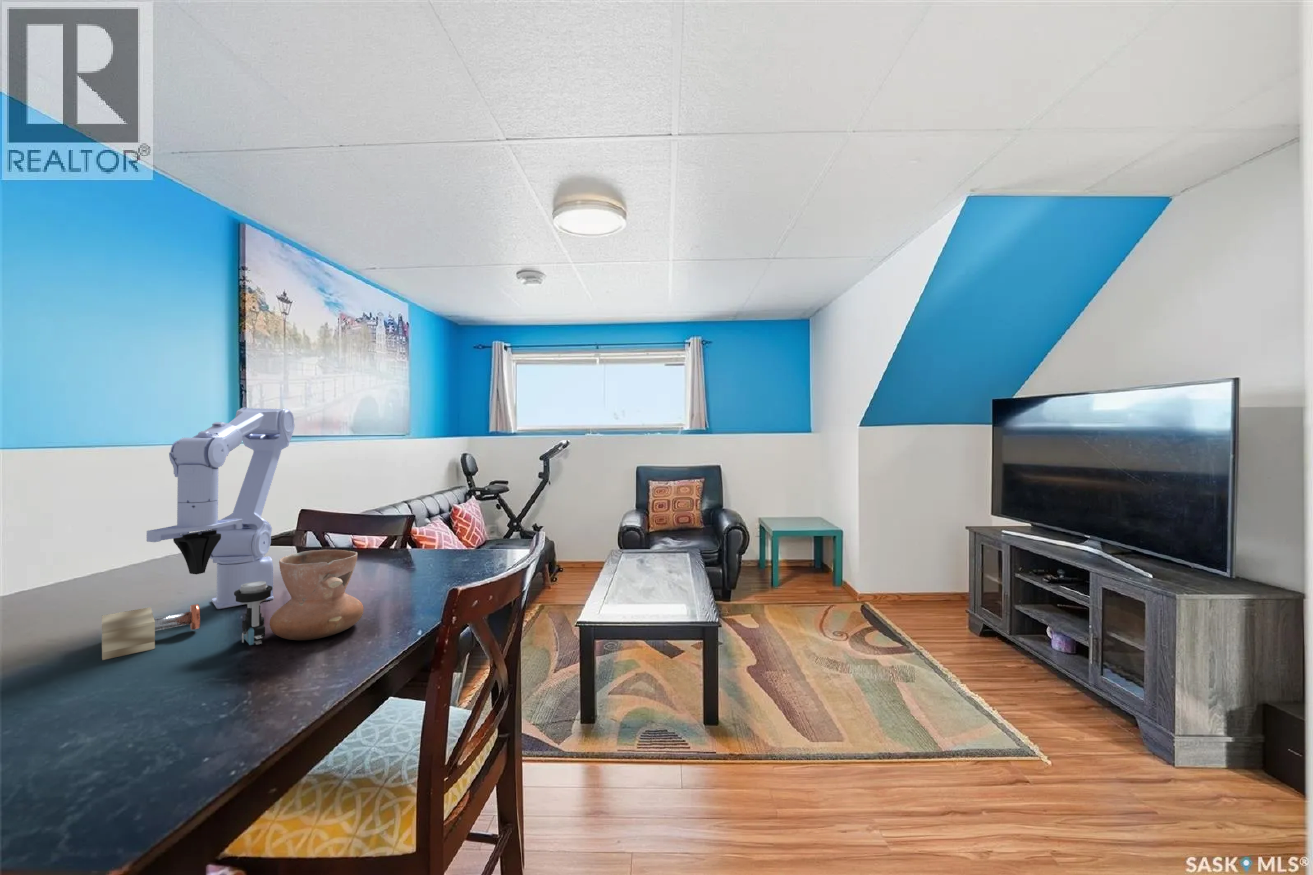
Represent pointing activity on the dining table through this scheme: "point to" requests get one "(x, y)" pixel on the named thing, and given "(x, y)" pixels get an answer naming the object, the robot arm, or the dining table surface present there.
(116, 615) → the hitch block
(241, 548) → the robot arm
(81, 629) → the dining table surface
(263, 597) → the push button
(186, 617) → the pin
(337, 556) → the ceramic jug
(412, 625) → the dining table surface
